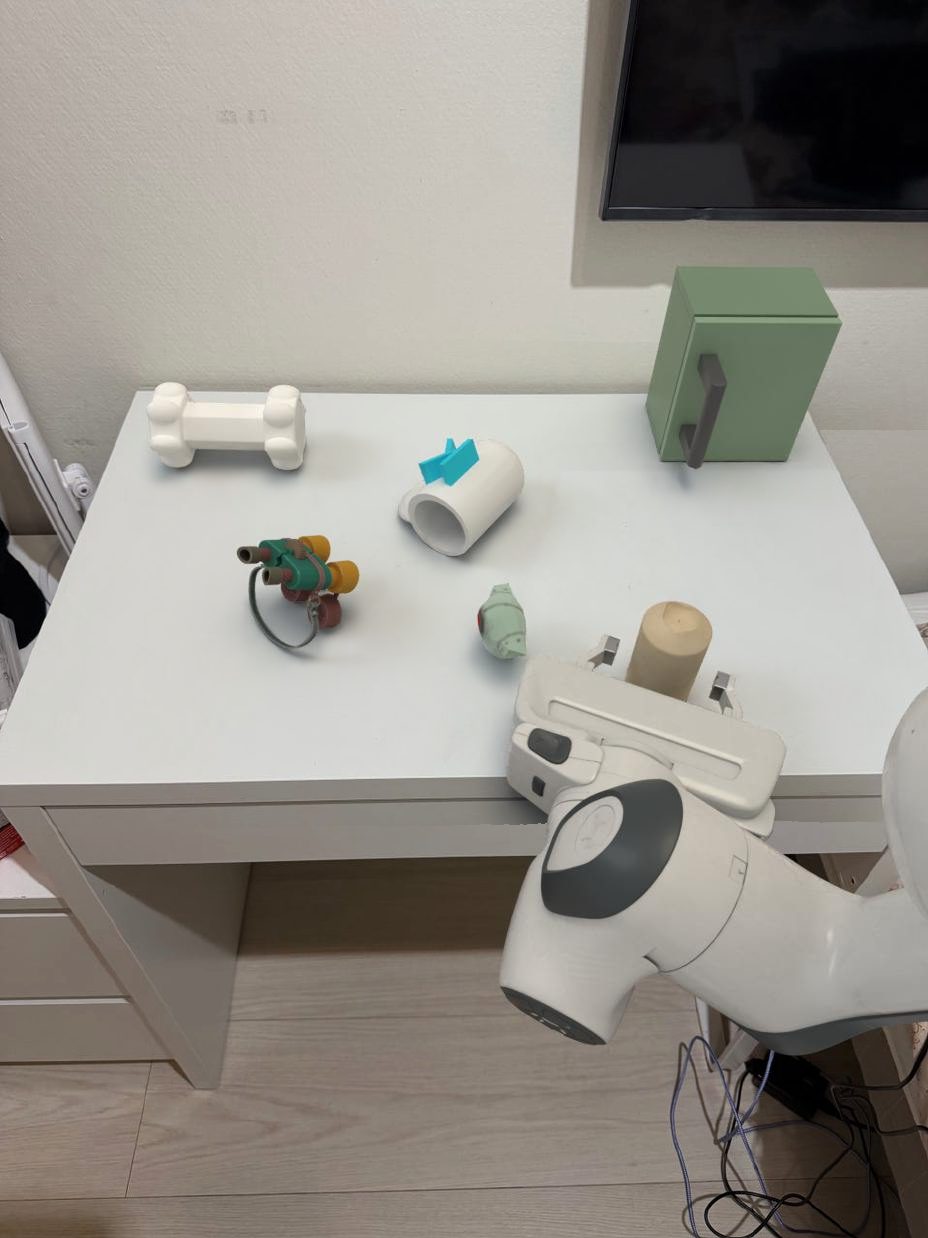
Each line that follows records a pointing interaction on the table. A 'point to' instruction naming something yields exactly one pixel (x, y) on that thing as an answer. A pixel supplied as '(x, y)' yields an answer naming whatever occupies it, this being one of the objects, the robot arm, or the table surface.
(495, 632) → the robot head
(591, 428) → the table surface
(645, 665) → the candle
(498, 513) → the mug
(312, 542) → the binoculars
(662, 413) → the cabinet
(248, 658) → the table surface
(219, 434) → the dog bone
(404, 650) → the table surface
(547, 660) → the robot arm
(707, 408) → the door
